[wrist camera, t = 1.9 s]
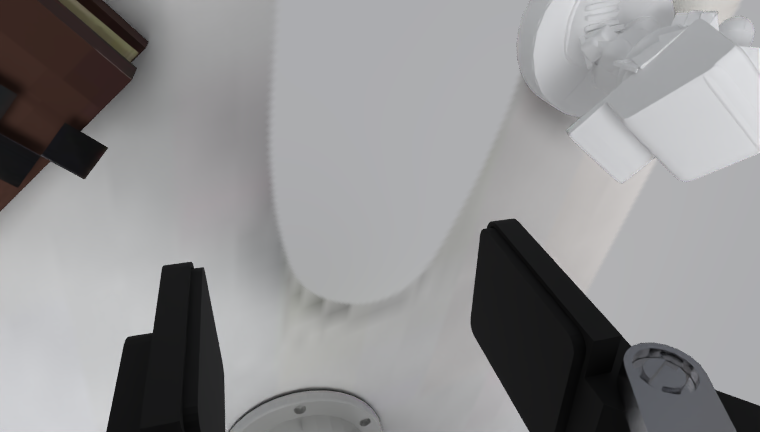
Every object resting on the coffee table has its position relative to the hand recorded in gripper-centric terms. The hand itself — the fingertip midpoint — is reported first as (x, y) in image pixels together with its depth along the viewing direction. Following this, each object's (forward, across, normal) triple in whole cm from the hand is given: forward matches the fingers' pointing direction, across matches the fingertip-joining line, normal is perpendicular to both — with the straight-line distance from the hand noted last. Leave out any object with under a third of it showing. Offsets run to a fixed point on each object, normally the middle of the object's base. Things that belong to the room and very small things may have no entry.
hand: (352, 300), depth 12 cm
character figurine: (+20, -18, 0) cm, 26 cm away
